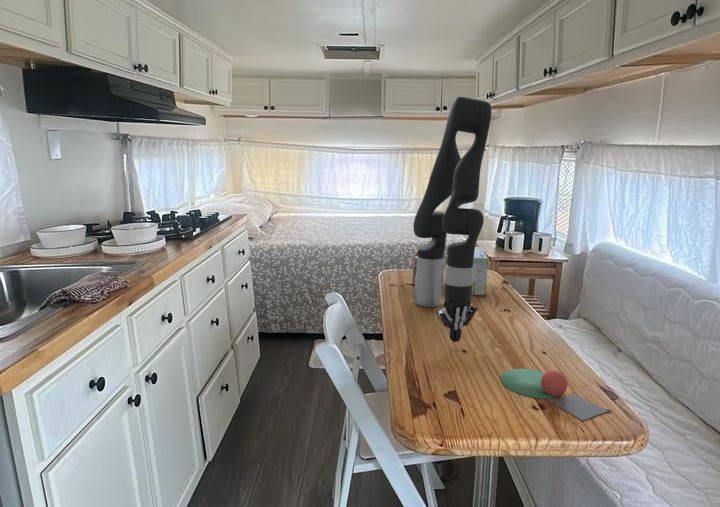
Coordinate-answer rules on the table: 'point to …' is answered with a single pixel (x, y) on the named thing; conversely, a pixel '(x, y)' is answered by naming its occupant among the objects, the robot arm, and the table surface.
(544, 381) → the ball
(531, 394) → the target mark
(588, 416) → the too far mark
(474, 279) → the snack box
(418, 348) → the table surface
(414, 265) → the canister
